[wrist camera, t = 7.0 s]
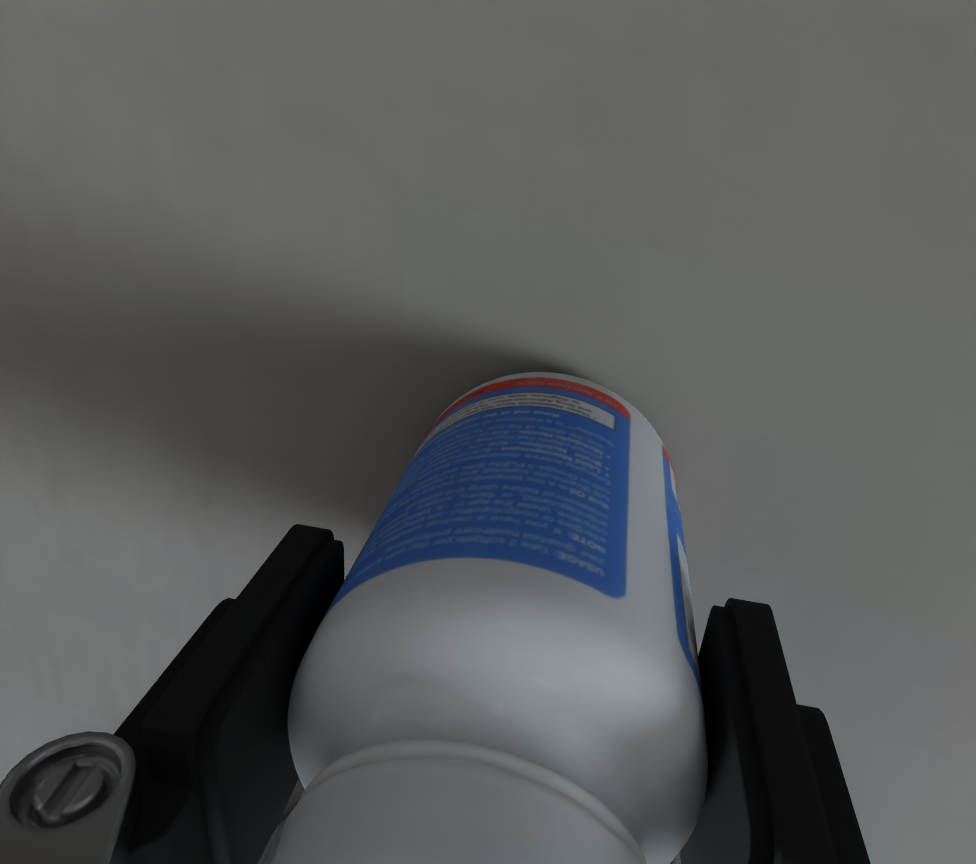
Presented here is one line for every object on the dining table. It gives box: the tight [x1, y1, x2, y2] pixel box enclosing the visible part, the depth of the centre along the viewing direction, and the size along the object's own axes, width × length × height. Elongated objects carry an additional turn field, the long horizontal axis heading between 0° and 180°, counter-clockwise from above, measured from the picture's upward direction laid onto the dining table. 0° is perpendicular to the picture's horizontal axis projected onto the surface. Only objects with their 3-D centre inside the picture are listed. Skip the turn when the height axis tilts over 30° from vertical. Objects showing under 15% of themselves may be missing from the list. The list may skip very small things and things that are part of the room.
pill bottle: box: [270, 372, 708, 864], centre depth 11 cm, size 6×5×10 cm
